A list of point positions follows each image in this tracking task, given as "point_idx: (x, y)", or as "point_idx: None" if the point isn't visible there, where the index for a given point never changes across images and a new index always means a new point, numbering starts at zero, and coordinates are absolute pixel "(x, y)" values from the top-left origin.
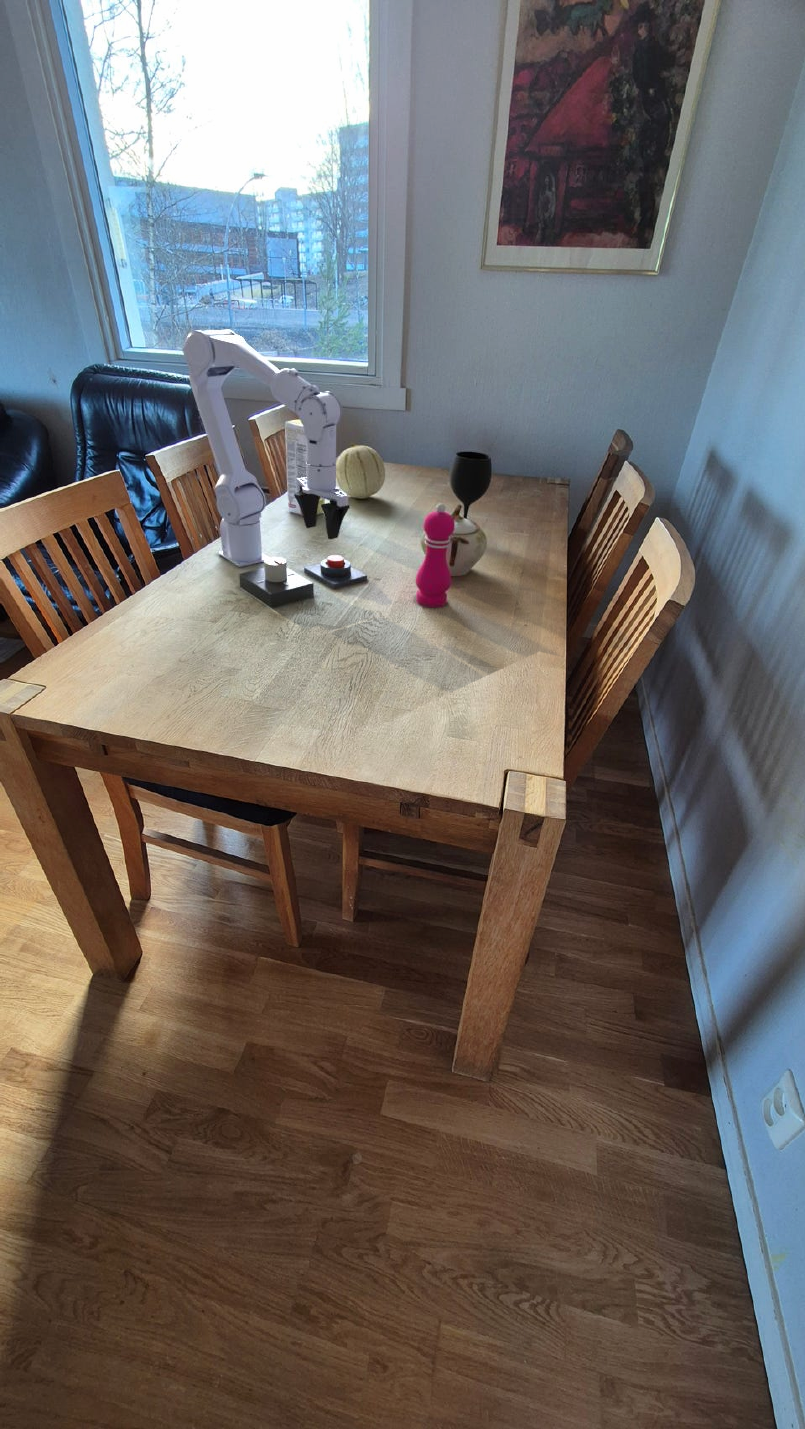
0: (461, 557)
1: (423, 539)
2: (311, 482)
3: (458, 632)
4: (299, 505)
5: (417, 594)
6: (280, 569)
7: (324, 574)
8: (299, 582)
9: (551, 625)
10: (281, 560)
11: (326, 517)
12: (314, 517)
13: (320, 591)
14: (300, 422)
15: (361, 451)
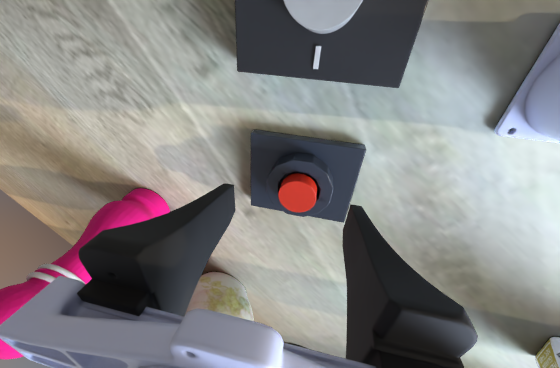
0: None
1: (219, 312)
2: None
3: (57, 158)
4: (407, 265)
5: (146, 198)
6: None
7: (300, 153)
8: (258, 38)
9: (64, 236)
10: (311, 5)
11: (174, 220)
12: (346, 253)
13: (264, 101)
14: None
15: None
